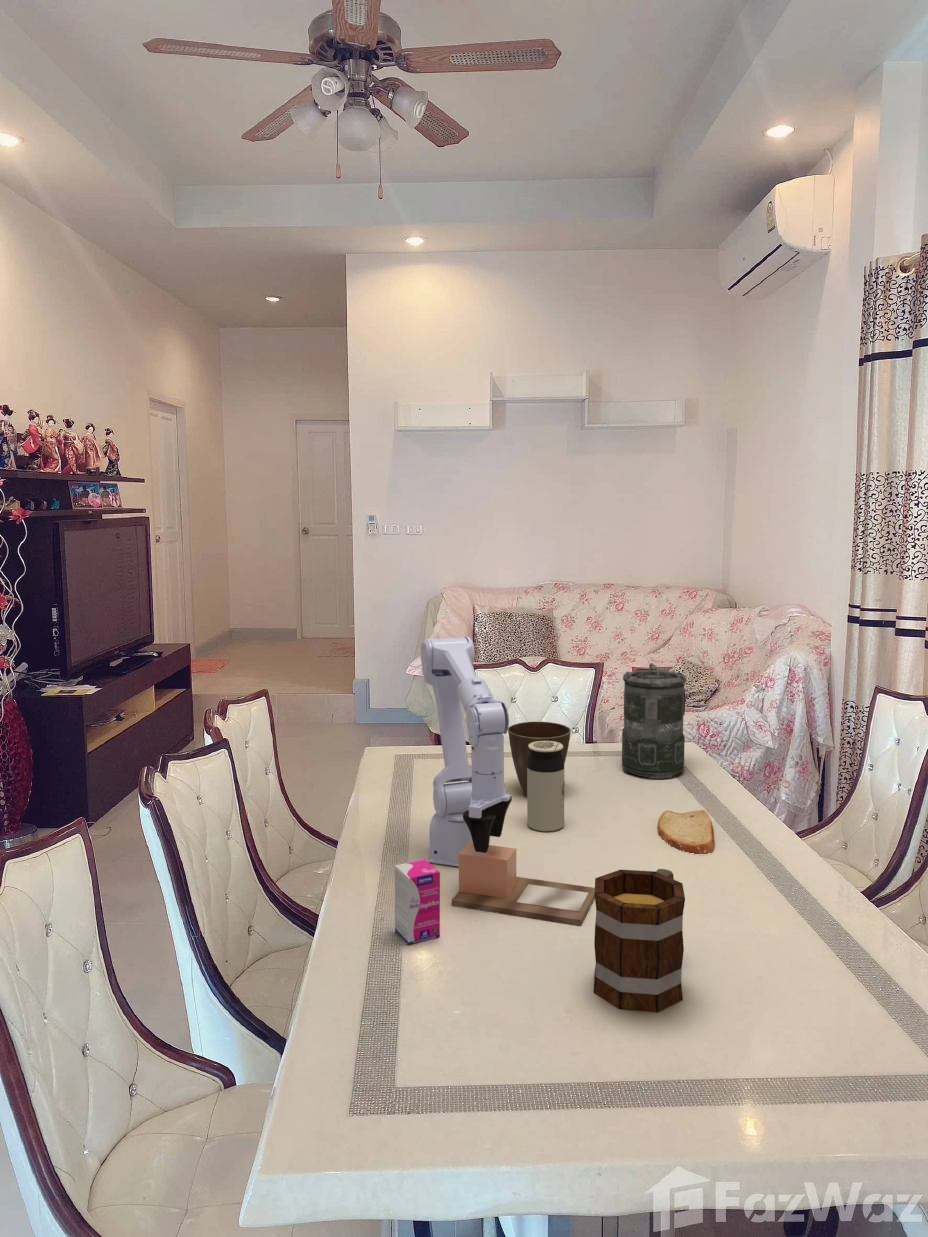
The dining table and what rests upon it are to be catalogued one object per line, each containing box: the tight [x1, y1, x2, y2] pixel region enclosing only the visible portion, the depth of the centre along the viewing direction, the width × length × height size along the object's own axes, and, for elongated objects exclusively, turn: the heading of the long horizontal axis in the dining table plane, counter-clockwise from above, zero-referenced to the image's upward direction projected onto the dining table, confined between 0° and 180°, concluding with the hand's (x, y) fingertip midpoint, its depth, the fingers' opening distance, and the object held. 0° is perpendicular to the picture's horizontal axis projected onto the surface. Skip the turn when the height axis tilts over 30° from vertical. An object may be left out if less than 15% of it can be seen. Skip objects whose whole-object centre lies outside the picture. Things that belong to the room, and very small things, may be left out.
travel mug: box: [526, 741, 565, 832], centre depth 192 cm, size 8×8×18 cm
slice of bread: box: [656, 809, 715, 855], centre depth 187 cm, size 18×18×4 cm
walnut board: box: [451, 876, 595, 927], centre depth 157 cm, size 23×13×1 cm, turn 70°
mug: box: [593, 868, 686, 1014], centre depth 130 cm, size 20×14×15 cm
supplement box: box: [394, 859, 441, 945], centre depth 144 cm, size 6×6×12 cm
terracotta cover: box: [458, 842, 517, 899], centre depth 159 cm, size 9×6×7 cm, turn 70°
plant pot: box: [507, 721, 572, 797], centre depth 213 cm, size 15×15×16 cm
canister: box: [621, 662, 687, 780], centre depth 229 cm, size 16×16×28 cm
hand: (488, 843), depth 158 cm, fingers open, 7 cm apart
